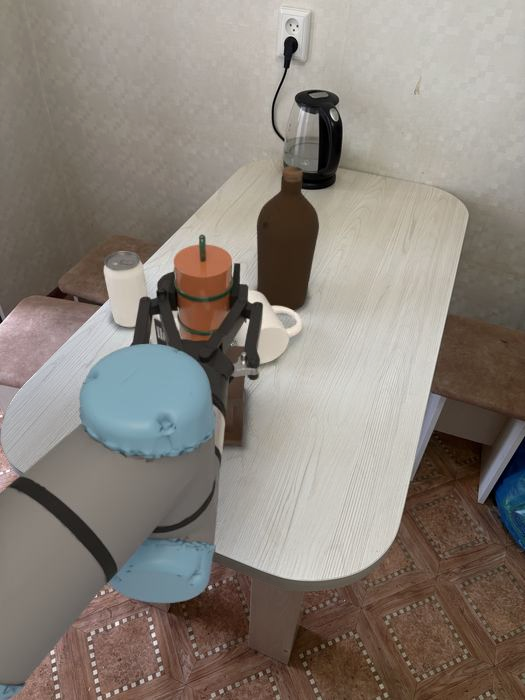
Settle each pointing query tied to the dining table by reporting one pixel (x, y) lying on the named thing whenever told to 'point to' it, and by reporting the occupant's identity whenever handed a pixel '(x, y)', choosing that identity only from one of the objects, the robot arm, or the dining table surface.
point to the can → (125, 286)
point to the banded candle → (202, 289)
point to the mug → (270, 329)
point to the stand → (235, 403)
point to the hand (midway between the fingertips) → (208, 271)
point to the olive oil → (286, 243)
